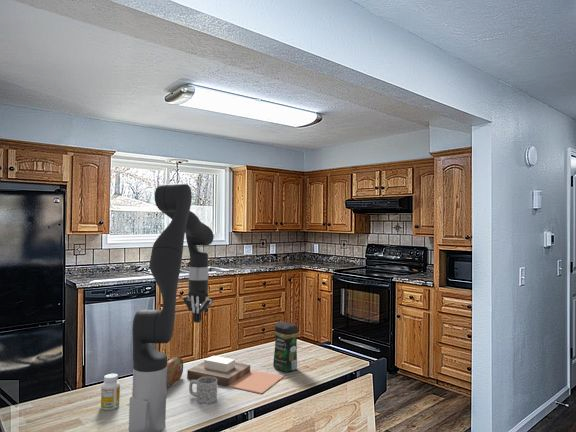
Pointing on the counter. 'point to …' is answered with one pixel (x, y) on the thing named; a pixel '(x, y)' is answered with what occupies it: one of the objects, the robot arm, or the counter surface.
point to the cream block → (219, 363)
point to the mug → (205, 390)
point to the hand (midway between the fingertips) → (197, 322)
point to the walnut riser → (219, 373)
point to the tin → (174, 370)
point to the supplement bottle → (110, 392)
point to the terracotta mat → (256, 382)
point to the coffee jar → (285, 346)
